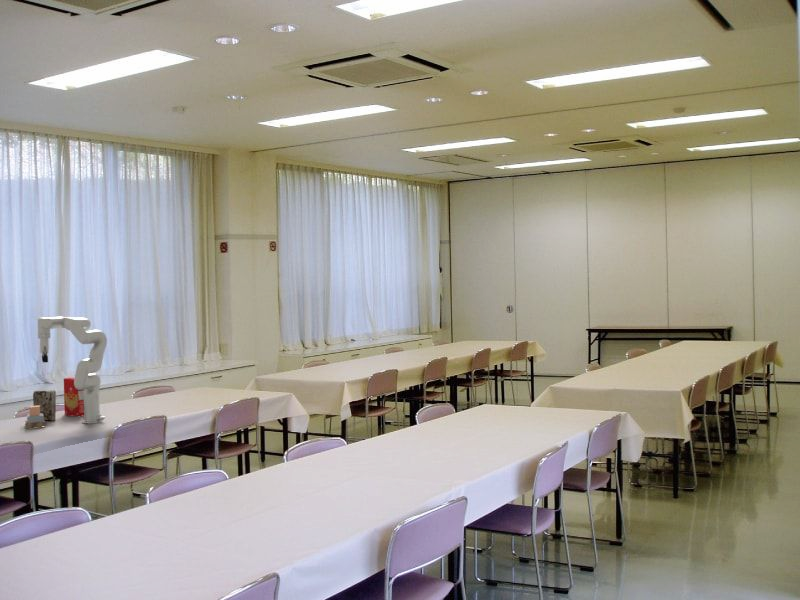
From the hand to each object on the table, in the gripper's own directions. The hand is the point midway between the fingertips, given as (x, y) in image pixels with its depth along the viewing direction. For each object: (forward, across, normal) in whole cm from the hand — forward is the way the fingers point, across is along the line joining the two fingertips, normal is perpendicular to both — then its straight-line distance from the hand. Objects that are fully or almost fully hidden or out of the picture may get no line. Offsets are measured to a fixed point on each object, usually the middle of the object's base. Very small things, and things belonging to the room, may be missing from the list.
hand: (45, 361), depth 540 cm
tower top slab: (+35, +26, -8) cm, 44 cm away
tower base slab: (+39, +26, -8) cm, 48 cm away
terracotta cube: (+31, +26, -8) cm, 41 cm away
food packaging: (+38, -5, +18) cm, 43 cm away
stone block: (+38, +7, -1) cm, 39 cm away
